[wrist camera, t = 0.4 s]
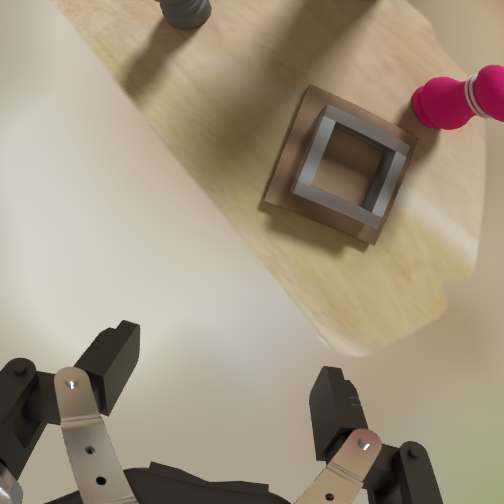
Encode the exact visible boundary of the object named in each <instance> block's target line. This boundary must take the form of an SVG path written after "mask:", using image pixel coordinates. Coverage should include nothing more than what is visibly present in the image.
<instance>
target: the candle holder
mask: <svg viewBox="0 0 504 504" xmlns="http://www.w3.org/2000/svg"><path fill="white" fill-rule="evenodd" d="M155 1H157V2H160V6H161V9H162V12H163V15H164V16H165V17H166V18H167V20H168V21H169V22H170V23H171V24H172V25H173V26H174V27H175V28H178V29H181V30H188V29H193V28H196V27H199V26H200V25H202V24H203V23H204V22H206V21H207V19H208V18H209V16H210V14H211V9H212V8H211V5H210V2H209V0H155Z"/></svg>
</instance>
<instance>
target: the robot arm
mask: <svg viewBox="0 0 504 504" xmlns="http://www.w3.org/2000/svg"><path fill="white" fill-rule="evenodd" d="M139 347H140V325H139V324H135V323H132V322H129V321H125V320H123V321H121V323H120V324H119V325H118V327H117V328H116V329H113V328H108V329H106V330H104V331H102V332H100V333H99V335H98V336H97V337H96V338H95V341H93V342H92V343H91V345H90V347H88V348H87V350H86V351H85V352H84V354H83V355H82V356H81V357H80V359H79V360H78V361H77V362H76V364H75V365H74V366H73V367H66V368H63V369H61V370H59V371H58V372H57V373H56V374H51V373H45V372H40V371H36V367H35V365H34V363H33V362H32V361H30V360H28V359H25V358H16V359H13V360H11V361H9V362H8V363H7V364H6V366H5V367H4V368H3V369H2V370H1V371H0V504H22V499H23V491H22V488H21V486H20V484H19V483H18V482H17V481H18V479H19V477H20V475H21V472H22V470H23V468H24V466H25V464H26V463H27V460H28V459H29V457H30V455H31V453H32V451H33V449H34V447H35V445H36V443H37V441H38V440H39V438H40V436H41V434H42V432H43V431H44V428H45V427H46V425H47V423H50V424H56V425H61V429H62V433H63V438H64V442H65V445H66V449H67V453H68V457H69V461H70V464H71V467H72V471H73V474H74V477H75V480H76V483H77V486H78V489H79V490H77V491H75V492H73V493H71V494H68V495H65V496H63V497H60V498H58V499H56V500H53V501H50V502H48V503H45V504H291V503H290V502H288V501H287V500H285V499H283V498H282V497H280V496H278V495H276V494H274V493H271V492H268V488H269V486H268V484H260V483H251V482H244V481H229V482H208V481H205V480H203V479H200V478H198V477H196V476H193V475H191V474H189V473H187V472H185V471H183V470H181V469H177V468H174V467H170V466H166V465H162V464H159V463H155V462H151V464H150V467H149V468H130V469H126V470H122V468H121V466H120V463H119V461H118V459H117V456H116V454H115V451H114V449H113V446H112V443H111V441H110V438H109V436H108V433H107V430H106V427H105V424H104V421H103V419H102V417H100V414H103V415H106V416H109V415H110V413H111V410H112V409H113V407H114V405H115V403H116V401H117V399H118V397H119V396H120V394H121V392H122V390H123V388H124V386H125V384H126V383H127V381H128V379H129V377H130V375H131V374H132V372H133V370H134V368H135V366H136V364H137V362H138V358H139V349H140V348H139ZM358 398H359V397H358V393H357V390H356V388H355V387H354V385H353V384H352V383H351V382H350V381H349V380H344V376H343V373H342V370H341V368H335V367H328V366H324V367H323V368H322V369H321V371H320V373H319V376H318V378H317V380H316V382H315V384H314V386H313V388H312V390H311V393H310V398H309V405H310V412H311V420H312V428H313V435H314V443H315V451H316V460H317V461H326V467H325V468H324V469H323V471H322V472H321V473H320V474H319V476H318V477H317V478H316V479H315V480H314V481H313V483H312V484H311V485H310V486H309V487H308V488H307V490H306V491H305V492H304V493H303V494H302V495H301V497H299V498H298V500H297V501H296V502H295V503H294V504H351V503H352V502H353V501H354V499H355V497H356V496H357V494H358V493H359V491H360V490H361V488H363V489H367V493H368V500H369V504H443V501H442V498H441V495H440V491H439V488H438V484H437V481H436V478H435V475H434V472H433V468H432V465H431V463H430V459H429V457H428V454H427V451H426V449H425V448H424V447H423V446H422V445H420V444H419V443H417V442H413V441H408V442H405V443H403V444H402V445H401V447H400V448H397V447H393V446H389V445H385V444H382V442H381V439H380V438H379V436H378V435H377V434H376V433H374V432H373V431H371V430H369V429H368V426H367V422H366V419H365V416H364V413H363V409H362V406H361V403H360V400H359V399H358Z"/></svg>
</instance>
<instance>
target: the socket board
mask: <svg viewBox="0 0 504 504" xmlns="http://www.w3.org/2000/svg"><path fill="white" fill-rule="evenodd" d="M417 140H418V139H417V138H416V137H414V136H413V135H411V134H409V133H407V132H406V131H404V130H402V129H400V128H399V127H397V126H395V125H393V124H392V123H390V122H388V121H386V120H384V119H382V118H380V117H379V116H377V115H375V114H373V113H371V112H369V111H367V110H365V109H363V108H361V107H359V106H357V105H355V104H353V103H351V102H348V101H346V100H344V99H342V98H340V97H338V96H335V95H333V94H331V93H329V92H326V91H324V90H322V89H319V88H317V87H314V86H312V85H309V86H308V88H307V91H306V93H305V96H304V98H303V101H302V103H301V106H300V108H299V111H298V113H297V116H296V118H295V121H294V123H293V126H292V128H291V131H290V134H289V136H288V139H287V141H286V144H285V146H284V149H283V151H282V154H281V157H280V159H279V162H278V164H277V167H276V169H275V172H274V174H273V177H272V180H271V182H270V185H269V187H268V190H267V192H266V195H265V198H264V201H266V202H269V203H271V204H274V205H276V206H279V207H282V208H284V209H287V210H289V211H292V212H294V213H297V214H299V215H302V216H305V217H307V218H310V219H312V220H314V221H317V222H319V223H322V224H324V225H327V226H329V227H332V228H334V229H336V230H339V231H341V232H344V233H346V234H348V235H351V236H353V237H356V238H358V239H360V240H363V241H365V242H367V243H369V244H372V245H374V246H375V243H376V241H377V239H378V237H379V235H380V232H381V230H382V228H383V226H384V223H385V221H386V219H387V217H388V214H389V212H390V210H391V207H392V205H393V202H394V200H395V198H396V195H397V193H398V190H399V188H400V185H401V183H402V180H403V178H404V175H405V172H406V170H407V167H408V165H409V162H410V159H411V156H412V154H413V151H414V148H415V145H416V142H417Z"/></svg>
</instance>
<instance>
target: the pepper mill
mask: <svg viewBox="0 0 504 504" xmlns="http://www.w3.org/2000/svg"><path fill="white" fill-rule="evenodd" d="M412 104H413V109H414V112H415V114H416V116H417V117H418V119H419V120H420V121H421V122H422V123H423V124H425V125H426V126H428V127H432V128H436V127H440V128H442V129H445V130H453V129H457V128H460V127H462V126H463V125H465V124H466V123H467V122H468V121H469V119H470V118H472V117H473V116H475V115H478V116H480V117H482V118H494V119H496V120H499V121H501V122H504V67H503V66H500V65H490V66H486V67H484V68H482V69H481V70H480V71H479V73H478V74H475V75H471V76H469V77H468V79H467V80H466V81H464V82H459V81H457V80H454V79H452V78H448V77H437V78H433V79H431V80H429V81H428V82H427V83H426V84H425V86H422V87H420V88H418V89H417V90H416V91H415V93H414V95H413V100H412Z"/></svg>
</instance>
